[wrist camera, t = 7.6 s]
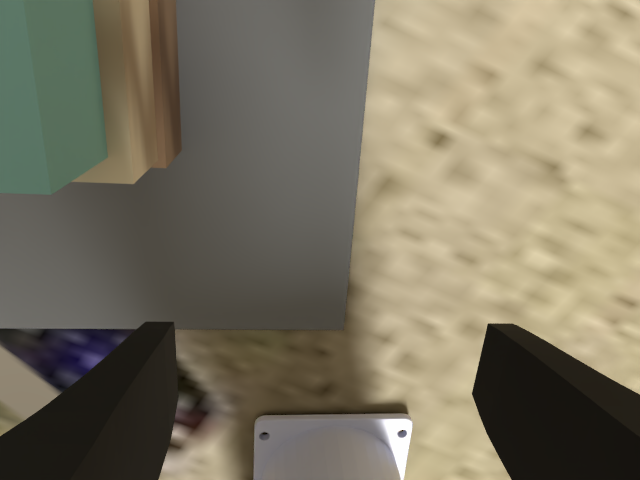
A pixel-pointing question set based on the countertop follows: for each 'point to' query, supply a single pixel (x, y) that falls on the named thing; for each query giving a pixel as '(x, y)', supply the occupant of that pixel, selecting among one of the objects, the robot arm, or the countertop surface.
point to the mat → (215, 188)
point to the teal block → (48, 95)
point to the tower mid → (125, 91)
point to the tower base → (165, 80)
